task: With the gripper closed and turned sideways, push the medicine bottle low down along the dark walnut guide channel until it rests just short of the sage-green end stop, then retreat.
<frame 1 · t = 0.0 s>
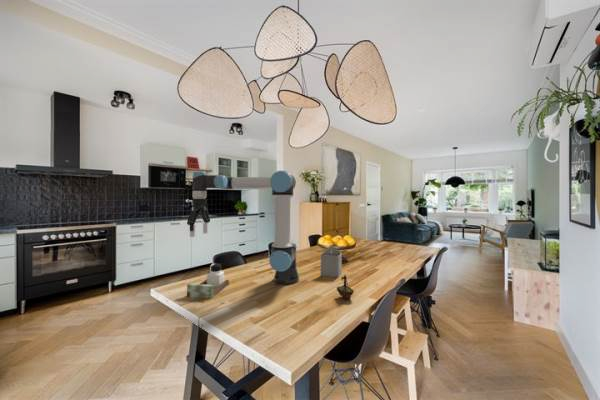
hand: (199, 235, 138), 28 cm above the table, fingers open, 13 cm apart
figurine: (345, 298, 120), on the table
medicine bottle: (215, 285, 135), on the table
guide channel: (209, 290, 128), on the table
grey box: (334, 276, 154), on the table
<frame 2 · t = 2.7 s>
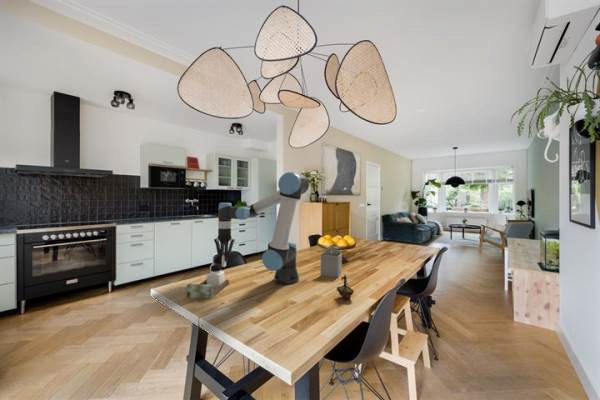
hand: (223, 266, 146), 8 cm above the table, fingers closed
nothing on the table moved.
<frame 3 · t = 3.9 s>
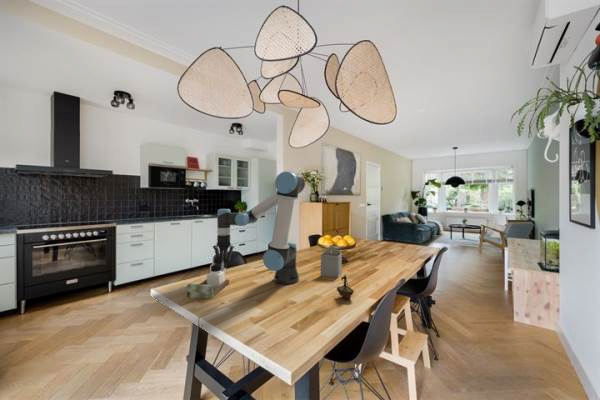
hand: (223, 273, 145), 4 cm above the table, fingers closed
nothing on the table moved.
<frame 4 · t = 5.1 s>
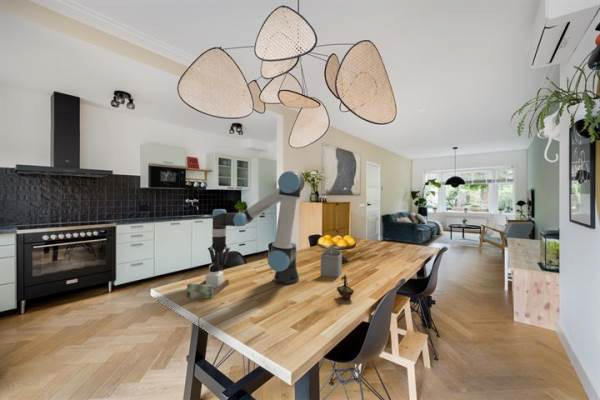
hand: (218, 276, 139), 4 cm above the table, fingers closed
medicine bottle: (214, 286, 134), on the table
everything else where it was.
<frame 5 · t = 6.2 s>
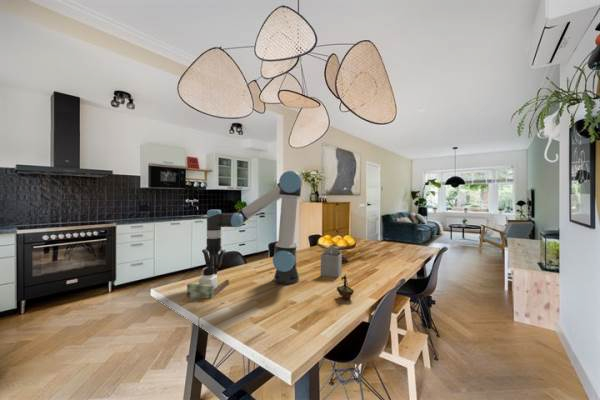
hand: (213, 279, 133), 4 cm above the table, fingers closed
medicine bottle: (208, 290, 128), on the table, touching gripper
everything else where it was.
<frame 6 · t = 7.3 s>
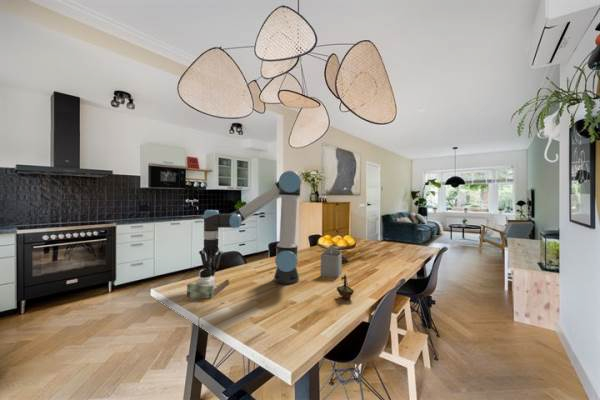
hand: (210, 281, 130), 4 cm above the table, fingers closed
medicine bottle: (205, 292, 125), on the table, touching gripper
everything else where it was.
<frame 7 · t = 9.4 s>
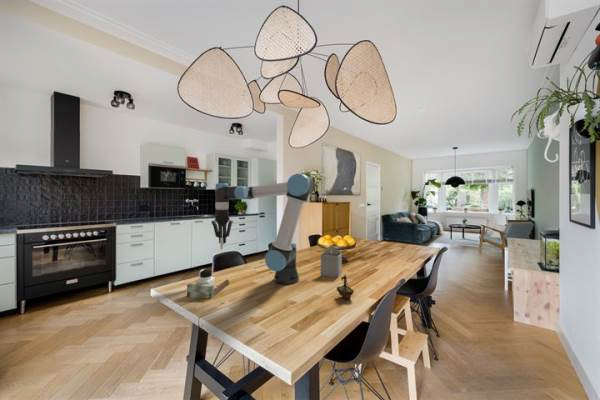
hand: (222, 248, 142), 19 cm above the table, fingers closed
medicine bottle: (205, 292, 125), on the table
everything else where it was.
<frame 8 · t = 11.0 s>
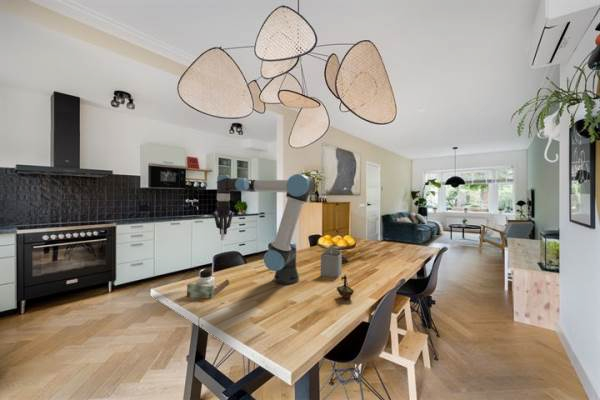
hand: (223, 239, 144), 24 cm above the table, fingers closed
nothing on the table moved.
at the end: medicine bottle inside the target area (0.3 cm from its centre), on the table; medicine bottle tilted 0°; medicine bottle moved 10.4 cm from its start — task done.
